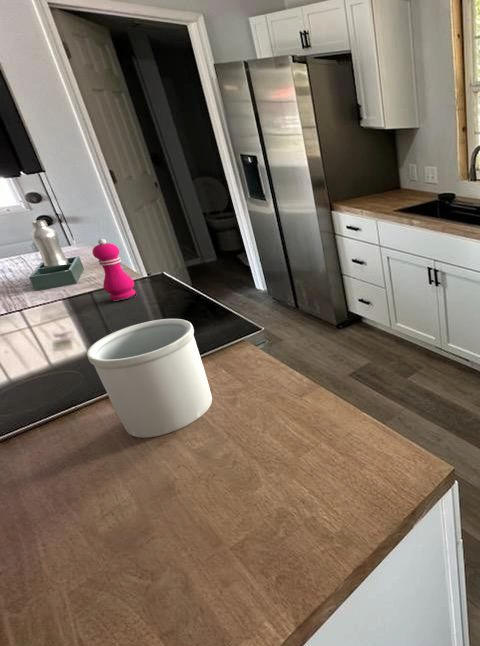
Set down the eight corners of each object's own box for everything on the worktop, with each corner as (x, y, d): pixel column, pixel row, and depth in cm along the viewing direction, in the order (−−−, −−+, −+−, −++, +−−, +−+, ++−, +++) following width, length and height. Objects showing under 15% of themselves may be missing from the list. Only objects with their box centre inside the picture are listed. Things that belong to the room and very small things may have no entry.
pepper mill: (108, 298, 134) (84, 239, 126) (137, 291, 138) (116, 234, 131) (109, 304, 129) (84, 244, 122) (139, 297, 134) (117, 238, 126)
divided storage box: (35, 291, 140) (28, 277, 138) (46, 274, 154) (41, 262, 152) (76, 283, 145) (71, 270, 144) (84, 268, 160) (79, 256, 158)
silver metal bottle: (43, 276, 150) (18, 223, 143) (65, 269, 156) (43, 218, 149) (55, 277, 148) (31, 224, 141) (78, 271, 155) (56, 219, 147)
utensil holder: (226, 411, 82) (201, 335, 76) (129, 454, 72) (90, 370, 66) (205, 381, 92) (181, 311, 85) (117, 416, 81) (82, 339, 75)
